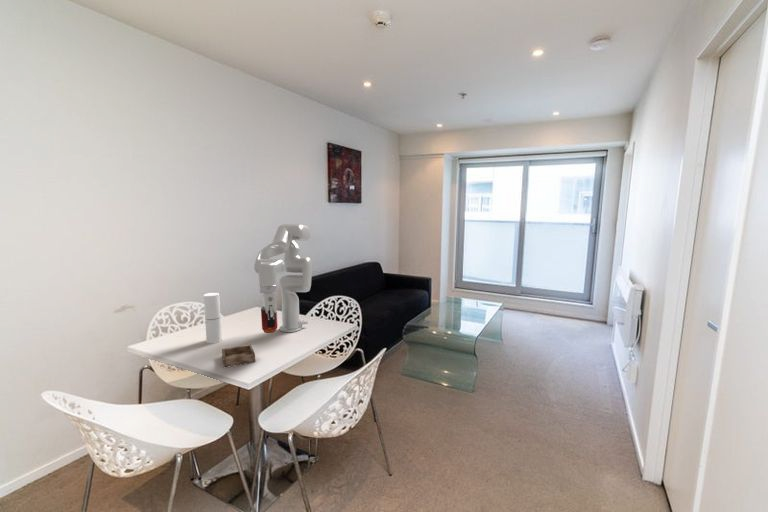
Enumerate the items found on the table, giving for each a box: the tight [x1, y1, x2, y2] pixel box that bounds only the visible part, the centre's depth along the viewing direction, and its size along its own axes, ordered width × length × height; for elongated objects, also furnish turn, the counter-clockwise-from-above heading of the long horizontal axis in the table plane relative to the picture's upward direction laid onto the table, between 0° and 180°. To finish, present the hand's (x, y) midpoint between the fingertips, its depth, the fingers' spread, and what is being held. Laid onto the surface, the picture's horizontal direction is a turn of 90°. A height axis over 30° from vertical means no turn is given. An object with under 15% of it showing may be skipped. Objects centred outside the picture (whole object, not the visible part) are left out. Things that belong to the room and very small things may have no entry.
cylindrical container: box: [203, 292, 223, 344], centre depth 177 cm, size 7×7×25 cm
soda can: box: [260, 306, 278, 334], centre depth 161 cm, size 7×7×12 cm
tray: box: [221, 344, 256, 368], centre depth 157 cm, size 13×13×4 cm
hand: (269, 324), depth 162 cm, fingers closed on soda can, 7 cm apart
